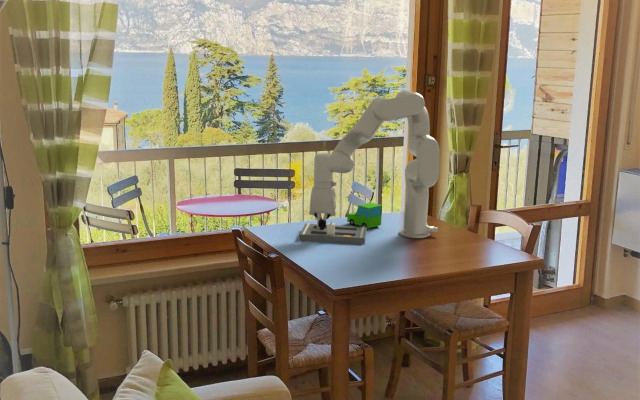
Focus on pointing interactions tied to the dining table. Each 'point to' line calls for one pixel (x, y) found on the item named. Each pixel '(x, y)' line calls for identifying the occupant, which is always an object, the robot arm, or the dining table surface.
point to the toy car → (366, 215)
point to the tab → (331, 228)
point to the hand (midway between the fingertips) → (322, 229)
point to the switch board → (341, 234)
